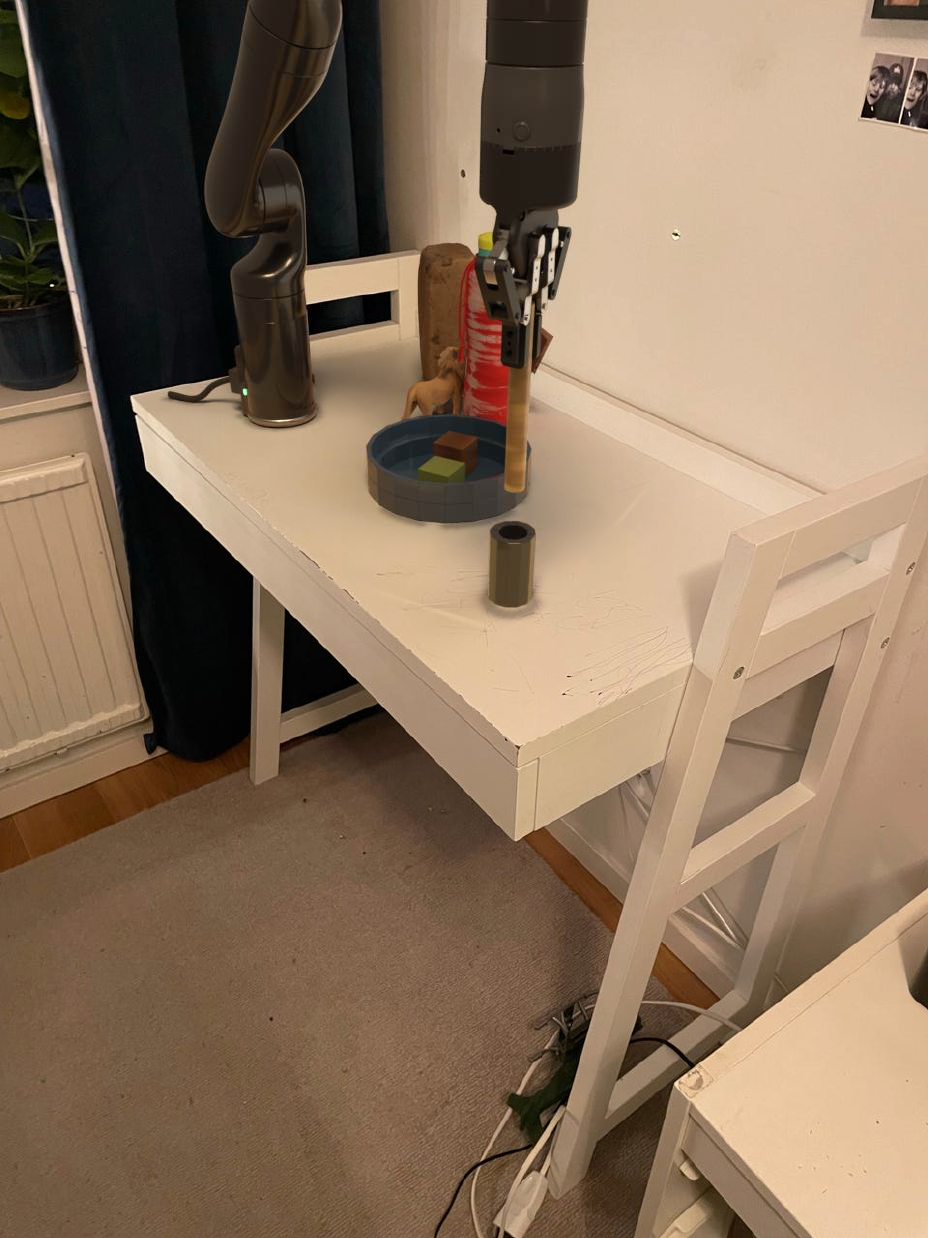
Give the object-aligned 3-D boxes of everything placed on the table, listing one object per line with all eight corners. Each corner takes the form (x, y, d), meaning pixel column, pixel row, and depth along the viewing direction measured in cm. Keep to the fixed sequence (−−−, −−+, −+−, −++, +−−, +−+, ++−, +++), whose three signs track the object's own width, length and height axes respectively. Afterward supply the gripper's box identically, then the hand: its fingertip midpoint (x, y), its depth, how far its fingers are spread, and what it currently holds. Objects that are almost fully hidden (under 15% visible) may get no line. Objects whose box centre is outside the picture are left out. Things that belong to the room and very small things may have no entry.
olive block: (418, 500, 109) (417, 468, 106) (435, 486, 112) (435, 455, 109) (448, 508, 107) (448, 476, 105) (464, 493, 110) (465, 462, 108)
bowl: (337, 503, 109) (334, 460, 106) (420, 442, 123) (419, 403, 120) (482, 544, 102) (483, 500, 99) (553, 475, 116) (556, 434, 113)
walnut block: (433, 472, 114) (433, 442, 112) (449, 460, 117) (449, 430, 115) (462, 479, 113) (462, 449, 111) (477, 467, 116) (477, 437, 113)
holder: (480, 606, 93) (482, 536, 88) (500, 585, 96) (502, 516, 91) (519, 618, 91) (523, 547, 86) (538, 596, 94) (542, 527, 89)
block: (479, 399, 135) (482, 256, 124) (428, 403, 134) (426, 258, 122) (463, 372, 144) (464, 236, 132) (415, 376, 143) (412, 238, 131)
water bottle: (535, 410, 132) (546, 223, 118) (550, 433, 126) (564, 238, 112) (452, 416, 130) (452, 226, 116) (463, 440, 124) (465, 242, 110)
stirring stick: (500, 489, 86) (507, 303, 76) (509, 481, 87) (517, 296, 77) (519, 494, 85) (528, 306, 75) (527, 486, 86) (538, 300, 77)
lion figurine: (442, 401, 134) (442, 339, 129) (476, 408, 132) (477, 346, 127) (390, 440, 123) (388, 374, 118) (426, 448, 121) (425, 381, 116)
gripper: (525, 117, 75) (515, 331, 86) (441, 141, 66) (441, 379, 76) (612, 125, 73) (592, 345, 83) (538, 152, 63) (525, 397, 73)
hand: (520, 360), depth 79 cm, fingers closed on stirring stick, 2 cm apart
